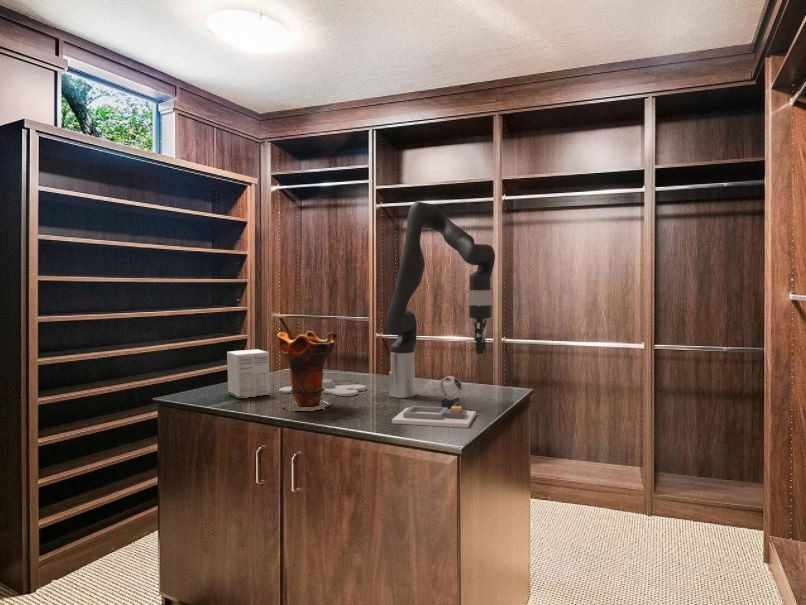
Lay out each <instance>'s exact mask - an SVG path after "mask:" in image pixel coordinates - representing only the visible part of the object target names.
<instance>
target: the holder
mask: <svg viewBox="0 0 806 605" xmlns="http://www.w3.org/2000/svg"><path fill="white" fill-rule="evenodd" d="M322 388H323V389H324V390H325V391H322V392H326V393H332V394H336V395H341V396H352V395H356V394H358V395H359V392H358V391H362V392H364V391H363V390H366V389H367V390H368V388H367V385H364V384H350V385H349V384H345V385H336V382H335V380H334V379H326V378H325V379H324V378H323V380H322ZM291 389H292V387H291V386H284V387H280V388H279V389H278V392H279V391H283V392H291ZM367 390H366V391H367Z"/></svg>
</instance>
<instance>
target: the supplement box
mask: <svg viewBox="0 0 806 605" xmlns="http://www.w3.org/2000/svg"><path fill="white" fill-rule="evenodd" d="M226 359H227V360H226V361H227V363H226V364H227V365H226V366H227V392H228V391H229V392H231V393H233V394H235V395H236V396H238V397H239V396H248V395H258V394H266V393H271V392H270V390H271V389H270V388H271V387H270V382H271V381H270V352H269V351H265V350H261V349H259V348H256V349H244V350H233V351H227V352H226Z"/></svg>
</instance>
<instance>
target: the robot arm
mask: <svg viewBox="0 0 806 605" xmlns="http://www.w3.org/2000/svg"><path fill="white" fill-rule="evenodd" d="M406 222H407V223H406V230H405V231H406V232H405V240H404V245H403V251H402V254H401V259H400V262H399V263H400V264H399V267H398V272H397V278H396V283H395V287H394V293H393V294H392V299H391V303H390V306H389V309H388V311H387V315H386V318H385V319H386V320H385V326H386V330H387V332H388V333H389V334H390V335H393V336H397V338H396V340H395V341H394V342H393V343H392V344H391V345H390V371H389V373H388V374H389V375H388V376H389V378H388V380H389V381H388V382H389V383H388V384H389V386H388V387H389V397H392V398H396V399H399V398H400V399H407V398H413V397H415V394H416V388H415V386H416V384H415V383H416V382H415V380H416V379H415V378H416V377H415V348H416V347H415V346H416V344H417V333H418V331H417V326H418V324H417V319H416V315H415V313H414V312H413V311H411V310H408V308H407V307H408V304H409V302H410V300H411V298H412V296H413V295H414V294H415V292H416V291H417V289H418V287H419V286H420V284H421V282H422V279H423V276H424V270H425V265H426V264H425V262H426V261H425V258H424V257H425V256H424V253H423V250H422V246H421V236H422V230H423V229H431V230H435V231H437V232H438V233H439V234H441V235H442V238H443V240H444V241H445V242H446V243H447V245H448V246H450V248H452V249H453V250H455V251H456V252H458V254H459V255H460V257H461V258H462V259H463V261H464V262H466V263H467V264H469V265H471V266H477V270H476V271H475V272H472V273H471V274H470V275H469V281H468V282H469V285H468V286H469V291H468V292H469V294H468V317H469V318H470V319H475V322H474V324H473V329H474V332H473V335H474V338H473V340H474V342H475V353H476V355H483V353H484V351H486V339H487V332H488V330H487V328H488V323H487V320H486V319H490V318H492V315H493V314H492V312H493V311H492V290H491V289H492V287H491V286H492V285H491V279H492V278H491V277H492V274H493V270H494V269H493V268H494V265H495V259H496V254H495V250H494V248H493V246H491V245H489V244H482V243H475V239H474V238H473V236H471V235H470V234H469V233H468V232H466V231H465V230H463V229H462V228H461V227H459V226H458V225H457V224H455V223H454V222H453V221H452V220H451V219H450V218H449V217H447V216H446V214H445V213H444V212H443V210H441V209H440V208H439V207H438V206H437V205H435V204H434V203H433V204H432V203H428V202H422V201H415V202H414V203H413V204H412V205H411V206H410V208H409V211H408V215H407V221H406Z"/></svg>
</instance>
